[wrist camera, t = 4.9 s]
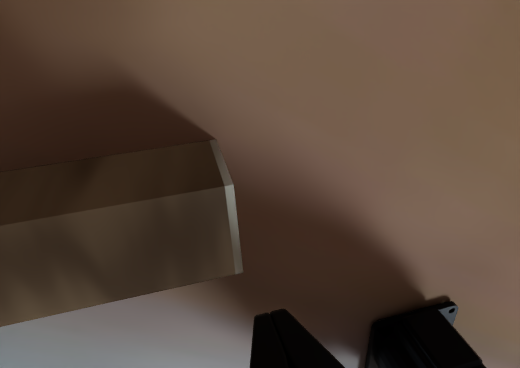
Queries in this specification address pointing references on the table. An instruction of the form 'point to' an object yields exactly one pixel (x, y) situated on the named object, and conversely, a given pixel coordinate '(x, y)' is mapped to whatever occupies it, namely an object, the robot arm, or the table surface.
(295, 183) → the table surface
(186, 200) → the walnut block
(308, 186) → the table surface
